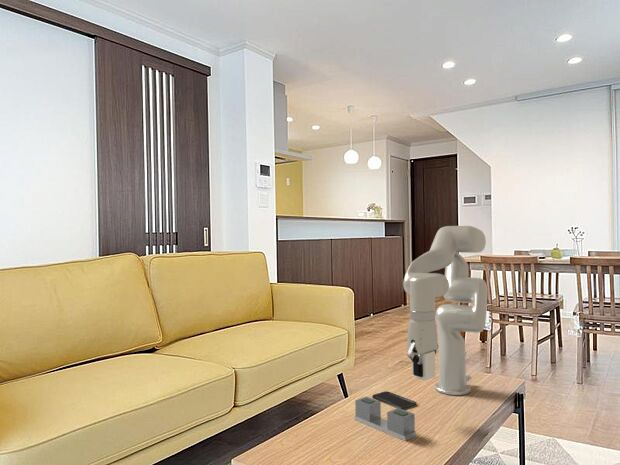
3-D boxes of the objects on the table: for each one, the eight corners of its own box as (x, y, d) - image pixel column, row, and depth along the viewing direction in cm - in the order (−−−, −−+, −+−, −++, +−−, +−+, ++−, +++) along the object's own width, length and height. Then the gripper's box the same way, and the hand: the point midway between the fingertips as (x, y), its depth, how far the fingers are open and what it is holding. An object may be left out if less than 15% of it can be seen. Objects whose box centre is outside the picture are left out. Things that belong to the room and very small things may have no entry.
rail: (365, 415, 149) (365, 395, 149) (416, 435, 134) (415, 413, 134) (354, 419, 146) (354, 399, 146) (405, 441, 131) (404, 418, 131)
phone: (386, 390, 170) (418, 402, 157) (386, 393, 170) (418, 406, 157) (370, 395, 165) (401, 408, 153) (370, 398, 165) (401, 411, 153)
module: (422, 373, 148) (421, 347, 148) (435, 376, 144) (434, 350, 144) (412, 376, 145) (411, 350, 145) (425, 380, 141) (425, 353, 141)
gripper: (429, 310, 153) (430, 365, 153) (395, 318, 142) (396, 377, 142) (448, 313, 147) (449, 370, 147) (415, 321, 136) (416, 383, 136)
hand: (423, 373), depth 145 cm, fingers closed on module, 5 cm apart
